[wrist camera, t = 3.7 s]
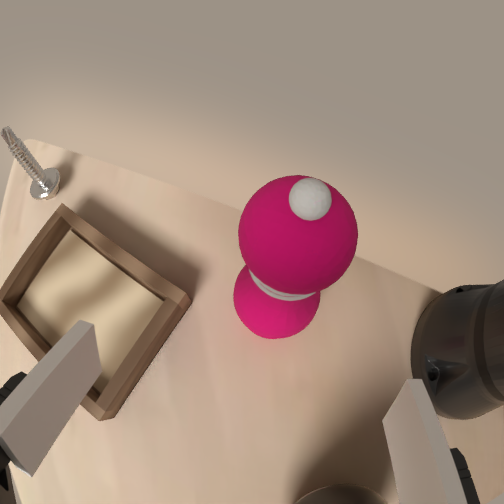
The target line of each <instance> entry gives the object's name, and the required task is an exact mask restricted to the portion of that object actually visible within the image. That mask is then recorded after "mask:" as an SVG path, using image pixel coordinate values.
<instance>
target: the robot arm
mask: <svg viewBox="0 0 504 504" xmlns="http://www.w3.org/2000/svg"><path fill="white" fill-rule="evenodd" d="M411 366H412V373H413V378H414V379H406V381H405V383H404V385H403V386H402V388H401V390H400V392H399V394H398V395H397V397H396V399H395V400H394V402H393V404H392V405H391V407H390V409H389V410H388V412H387V414H386V415H385V417H384V418H383V420H382V422H383V426H384V431H385V435H386V439H387V444H388V448H389V453H390V457H391V462H392V467H393V472H394V477H395V482H396V487H397V492H398V498H399V504H480V502H479V498H478V495H477V492H476V489H475V486H474V483H473V480H472V478H471V474H470V471H469V470H468V466H467V463H466V460H465V457H464V456H463V455H462V453H461V452H460V451H459V450H458V449H457V448H452V449H449V446H448V443H447V440H446V438H445V435H444V432H443V430H442V427H441V425H440V422H439V419H438V417H437V414H438V415H440V416H442V417H445V418H449V419H461V420H466V419H473V418H476V417H479V416H481V415H483V414H485V413H487V412H490V411H492V410H494V409H496V408H498V407H500V406H502V405H504V280H502V281H500V282H499V283H496V284H491V285H463V286H459V287H456V288H453V289H451V290H449V291H447V292H446V293H444V294H442V295H440V296H439V297H437V298H436V299H434V300H433V301H432V302H431V303H430V304H429V305H428V307H427V308H426V309H425V311H424V312H423V314H422V316H421V317H420V319H419V322H418V324H417V326H416V329H415V333H414V337H413V341H412V349H411ZM101 372H102V368H101V363H100V357H99V352H98V346H97V340H96V334H95V328H94V324H92V323H89V322H86V321H83V320H79V321H78V322H77V323H76V324H75V325H74V326H73V327H72V328H71V329H70V330H69V331H68V332H67V333H66V334H65V335H64V336H63V337H62V338H61V339H60V340H59V341H58V342H57V343H56V344H55V345H54V346H53V347H52V349H51V350H50V351H49V352H48V353H47V354H46V355H45V356H44V357H43V358H42V359H41V360H40V361H39V362H38V364H37V365H36V366H35V367H34V368H33V369H32V370H31V371H30V372H29V373H28V375H27V374H25V373H23V372H20V373H18V374H16V375H14V376H12V377H11V378H10V379H9V380H8V381H7V382H6V383H5V384H4V385H3V388H1V389H0V504H16V500H15V495H14V490H13V485H12V479H11V473H10V468H9V466H8V463H9V462H10V460H11V461H12V462H13V464H14V465H15V466H16V467H17V468H18V469H19V470H21V471H22V472H24V473H26V474H27V475H29V476H30V477H33V475H34V473H35V472H36V470H37V469H38V467H39V465H40V464H41V462H42V461H43V459H44V457H45V456H46V454H47V453H48V451H49V450H50V448H51V446H52V445H53V443H54V442H55V440H56V439H57V437H58V436H59V434H60V433H61V431H62V430H63V428H64V427H65V425H66V424H67V422H68V421H69V419H70V418H71V416H72V415H73V413H74V412H75V410H76V409H77V407H78V406H79V404H80V403H81V401H82V400H83V398H84V397H85V395H86V394H87V392H88V391H89V390H90V388H91V387H92V385H93V384H94V382H95V381H96V380H97V378H98V377H99V375H100V374H101Z"/></svg>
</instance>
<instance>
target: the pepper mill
mask: <svg viewBox="0 0 504 504" xmlns="http://www.w3.org/2000/svg"><path fill="white" fill-rule="evenodd" d="M238 236H239V246H240V250H241V254H242V257H243V259H244V261H245V263H246V265H245V267H244V268H243V269H242V270H241V272H240V273H239V275H238V277H237V280H236V283H235V287H234V294H233V295H234V305H235V309H236V312H237V314H238V316H239V318H240V319H241V321H242V322H243V323H244V324H245V325H246V326H247V327H248V328H249V329H250V330H251V331H252V332H253V333H255V334H256V335H258V336H260V337H264V338H268V339H277V338H286V337H290V336H292V335H295V334H297V333H299V332H300V331H302V330H303V329H304V328H305V327H306V326H308V325H309V323H310V322H311V321H312V319H313V317H314V316H315V314H316V311H317V309H318V307H319V302H320V291H321V290H323V289H325V288H327V287H329V286H330V285H332V284H333V283H334V282H336V281H337V280H338V279H339V278H340V277H341V276H342V275H343V274H344V273H345V271H346V270H347V268H348V267H349V265H350V263H351V261H352V259H353V257H354V254H355V251H356V245H357V238H358V229H357V222H356V219H355V216H354V212H353V210H352V209H351V207H350V205H349V203H348V202H347V200H346V199H345V198H344V197H343V196H342V195H341V194H340V193H339V192H338V191H337V190H336V189H335V188H333V187H332V186H330V185H329V184H327V183H325V182H323V181H321V180H319V179H316V178H312V177H309V176H301V175H295V176H286V177H282V178H278V179H275V180H273V181H270V182H269V183H267V184H266V185H264V186H263V187H262V188H260V189H259V190H258V191H257V192H256V193H255V194H254V195H253V196H252V197H251V199H250V200H249V201H248V203H247V204H246V206H245V209H244V211H243V213H242V215H241V219H240V223H239V230H238Z"/></svg>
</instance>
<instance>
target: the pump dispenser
mask: <svg viewBox="0 0 504 504" xmlns="http://www.w3.org/2000/svg"><path fill="white" fill-rule="evenodd" d="M295 504H388V503H387V502H386V500H385V499H384V498H383V497H382V496H380V495H379V494H378V493H377V492H375V491H374V490H372V489H370V488H368V487H365V486H361V485H356V484H339V485H332V486H327V487H323V488H320V489H317V490H314V491H312V492H310V493H308V494H306V495H305V496H303V497H302V498H300V499H299V500H298V501H297V502H296V503H295Z"/></svg>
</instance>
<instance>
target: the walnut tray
mask: <svg viewBox="0 0 504 504" xmlns="http://www.w3.org/2000/svg"><path fill="white" fill-rule="evenodd" d="M191 304H192V301H191V300H190V298H189V297H188V295H187V294H186V293H185V292H184V291H182V290H181V289H179V288H178V287H176V286H175V285H173V284H172V283H171V282H169V281H168V280H166V279H165V278H163V277H162V276H160V275H159V274H157V273H156V272H154V271H153V270H152V269H150V268H149V267H147V266H146V265H144V264H143V263H142V262H140V261H139V260H137V259H136V258H135V257H133V256H132V255H130V254H129V253H128V252H126V251H125V250H123V249H122V248H121V247H119V246H118V245H117V244H115V243H114V242H112V241H111V240H110V239H108V238H107V237H106V236H104V235H103V234H102V233H100V232H99V231H98V230H96V229H95V228H94V227H92V226H91V225H90V224H88V223H87V222H86V221H84V220H83V219H82V218H81V217H79V216H78V215H77V214H75V213H74V212H73V211H72V210H70V209H69V208H68V207H66V206H65V205H64V204H63V203H62V204H61V205H60V206H59V207H58V209H57V210H56V211H55V212H54V214H53V215H52V216H51V217H50V219H49V220H48V221H47V223H46V224H45V225H44V226H43V228H42V229H41V230H40V232H39V233H38V234H37V236H36V237H35V239H34V240H33V241H32V243H31V244H30V245H29V247H28V248H27V250H26V251H25V252H24V254H23V255H22V257H21V258H20V260H19V261H18V263H17V264H16V266H15V267H14V269H13V270H12V272H11V273H10V275H9V276H8V278H7V280H6V281H5V283H4V284H3V286H2V288H1V289H0V315H1V316H2V317H3V319H4V320H5V321H6V323H7V324H8V325H9V327H10V328H11V329H12V330H13V332H14V333H15V334H16V336H17V337H18V338H19V339H20V340H21V342H22V343H23V344H24V345H25V347H26V348H27V349H28V350H29V351H30V352H31V354H32V355H33V356H34V357H35V358H36V359H37V361H38V362H39V361H40V360H41V359H42V358H43V357H44V356H45V355H46V354H47V353H48V352H49V351H50V350H51V349H52V347H53V346H54V345H55V344H56V343H57V342H58V341H59V340H60V339H61V338H62V337H63V336H64V335H65V334H66V333H67V332H68V331H69V330H70V329H71V328H72V327H73V326H74V325H75V324H76V323H77V322H78V321H79V320H83V321H86V322H89V323H92V324H94V328H95V334H96V340H97V346H98V352H99V357H100V363H101V368H102V372H101V374H100V375H99V377H98V378H97V380H96V381H95V382H94V384H93V385H92V387H91V388H90V390H89V391H88V392H87V394H86V395H85V397H84V398H83V400H82V401H81V403H80V405H81V406H83V407H84V408H85V409H86V410H87V411H88V412H89V413H90V414H91V415H92V416H94V417H95V418H96V419H97V420H98V421H103V420H107V419H112V418H114V417H115V416H116V414H117V413H118V411H119V410H120V408H121V407H122V405H123V404H124V402H125V401H126V399H127V398H128V396H129V395H130V393H131V392H132V390H133V389H134V387H135V386H136V384H137V383H138V381H139V380H140V378H141V377H142V375H143V374H144V372H145V371H146V369H147V368H148V366H149V365H150V363H151V362H152V361H153V359H154V358H155V356H156V355H157V353H158V352H159V350H160V349H161V347H162V346H163V344H164V343H165V341H166V340H167V339H168V337H169V336H170V334H171V333H172V331H173V330H174V328H175V327H176V325H177V324H178V323H179V321H180V320H181V318H182V317H183V315H184V314H185V312H186V311H187V310H188V308H189V307H190V305H191Z"/></svg>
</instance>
